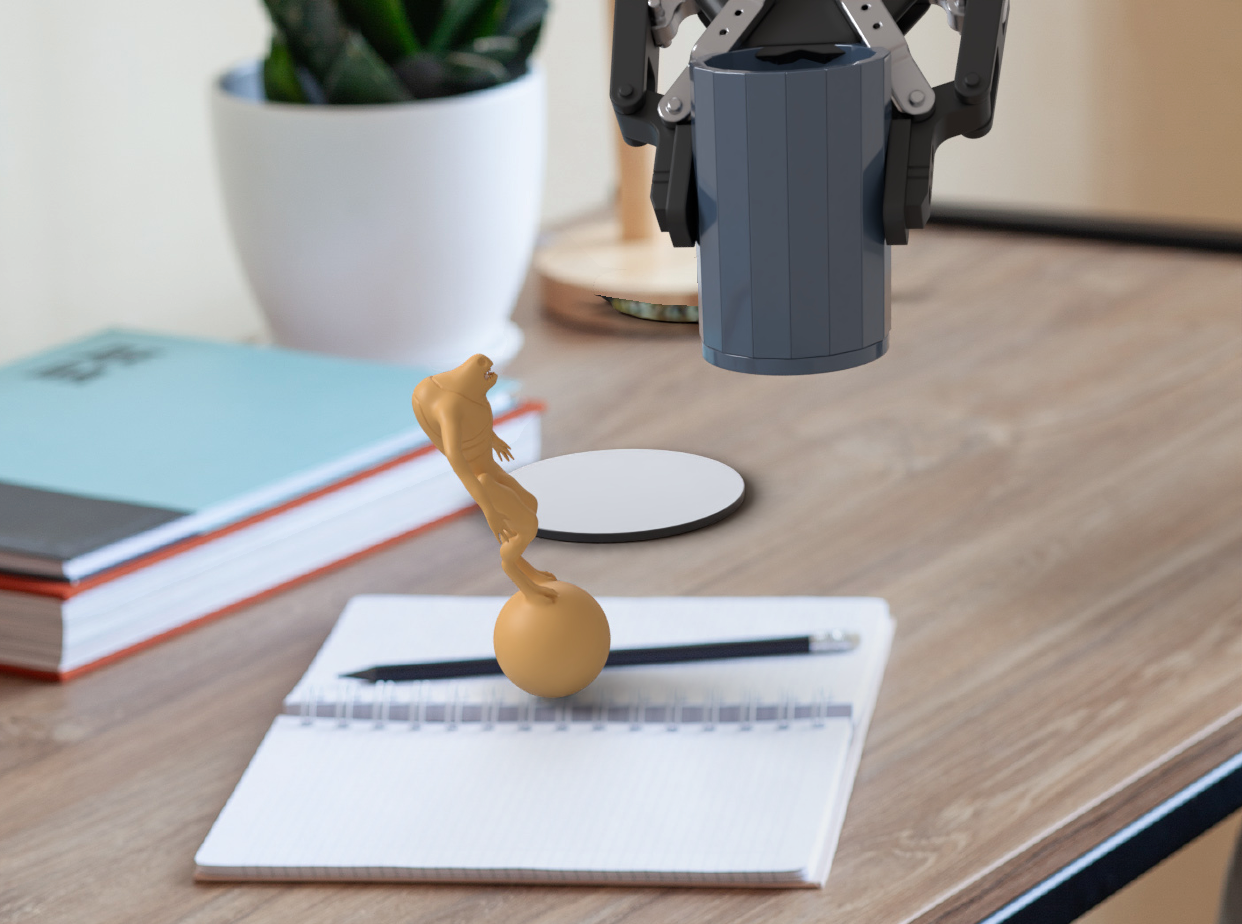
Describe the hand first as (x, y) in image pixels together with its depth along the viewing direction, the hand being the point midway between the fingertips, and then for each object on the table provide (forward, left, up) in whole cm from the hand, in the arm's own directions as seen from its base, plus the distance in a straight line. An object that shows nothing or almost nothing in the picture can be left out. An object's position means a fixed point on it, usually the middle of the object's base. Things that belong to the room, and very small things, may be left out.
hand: (786, 233), depth 71 cm
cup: (0, -2, -4) cm, 5 cm away
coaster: (+10, -11, -14) cm, 21 cm away
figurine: (+7, +9, -14) cm, 18 cm away
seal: (+14, -44, -14) cm, 49 cm away
